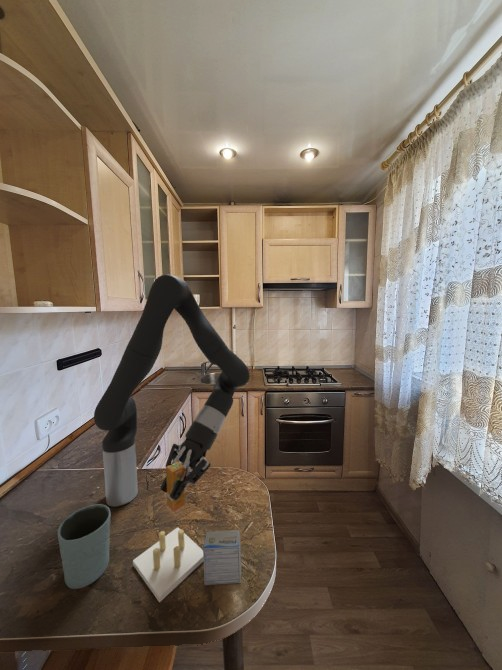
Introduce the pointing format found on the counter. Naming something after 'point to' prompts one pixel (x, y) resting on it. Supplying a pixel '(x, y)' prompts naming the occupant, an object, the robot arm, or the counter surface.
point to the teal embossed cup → (85, 545)
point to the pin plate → (168, 562)
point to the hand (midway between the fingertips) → (168, 494)
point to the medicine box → (222, 557)
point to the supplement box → (172, 477)
